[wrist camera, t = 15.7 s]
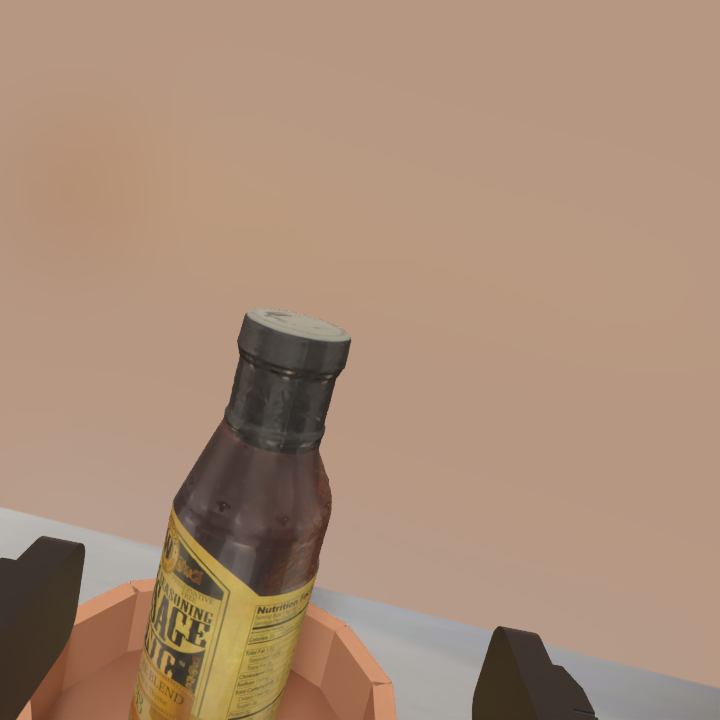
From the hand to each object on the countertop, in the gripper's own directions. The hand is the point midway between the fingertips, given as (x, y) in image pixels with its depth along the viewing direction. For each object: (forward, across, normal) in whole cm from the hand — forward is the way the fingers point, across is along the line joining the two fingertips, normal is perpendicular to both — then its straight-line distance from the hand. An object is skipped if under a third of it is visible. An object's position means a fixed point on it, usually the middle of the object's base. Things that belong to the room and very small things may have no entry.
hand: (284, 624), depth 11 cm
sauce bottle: (+12, +2, +16) cm, 20 cm away
